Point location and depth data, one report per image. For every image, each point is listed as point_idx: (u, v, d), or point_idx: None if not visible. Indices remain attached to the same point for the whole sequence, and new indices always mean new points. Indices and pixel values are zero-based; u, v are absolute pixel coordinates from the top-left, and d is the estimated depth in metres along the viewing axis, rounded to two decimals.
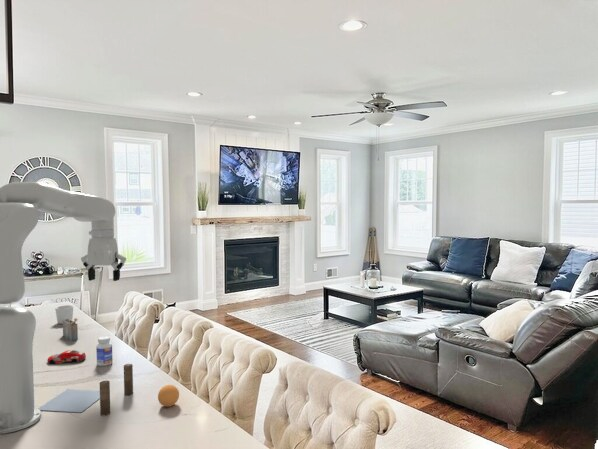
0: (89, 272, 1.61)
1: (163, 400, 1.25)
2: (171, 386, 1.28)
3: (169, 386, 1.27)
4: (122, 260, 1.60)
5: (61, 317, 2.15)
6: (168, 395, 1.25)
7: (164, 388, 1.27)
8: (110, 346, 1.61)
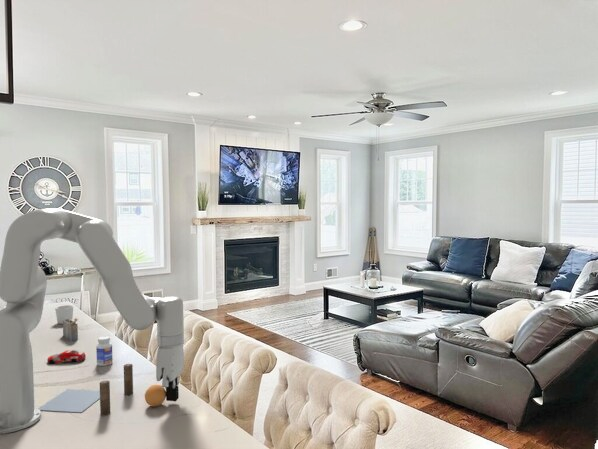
0: None
1: (151, 401, 1.25)
2: (148, 388, 1.28)
3: None
4: None
5: (61, 317, 2.15)
6: (149, 394, 1.25)
7: (145, 395, 1.27)
8: (110, 346, 1.61)
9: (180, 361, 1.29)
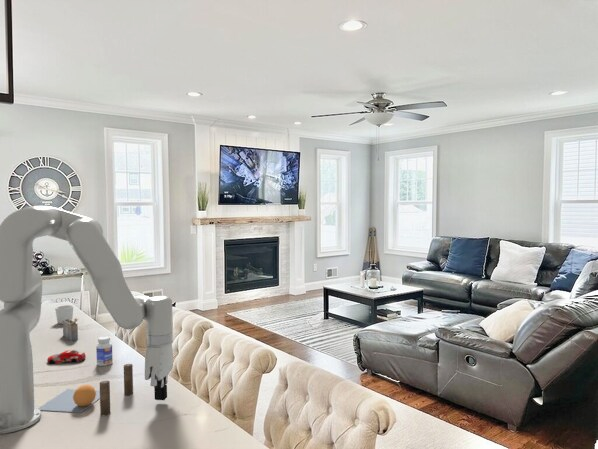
0: None
1: (80, 401, 1.25)
2: None
3: None
4: None
5: (61, 317, 2.15)
6: (75, 397, 1.26)
7: None
8: (110, 346, 1.61)
9: (169, 360, 1.30)
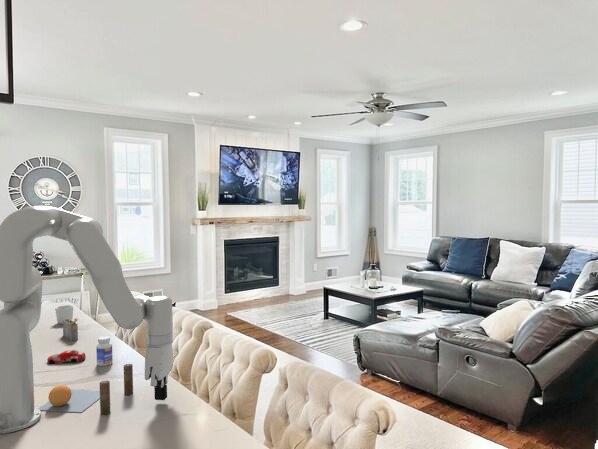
0: None
1: (55, 398, 1.25)
2: (67, 402, 1.28)
3: (67, 401, 1.28)
4: None
5: (61, 317, 2.15)
6: (57, 404, 1.26)
7: (67, 399, 1.27)
8: (110, 346, 1.61)
9: (169, 360, 1.30)
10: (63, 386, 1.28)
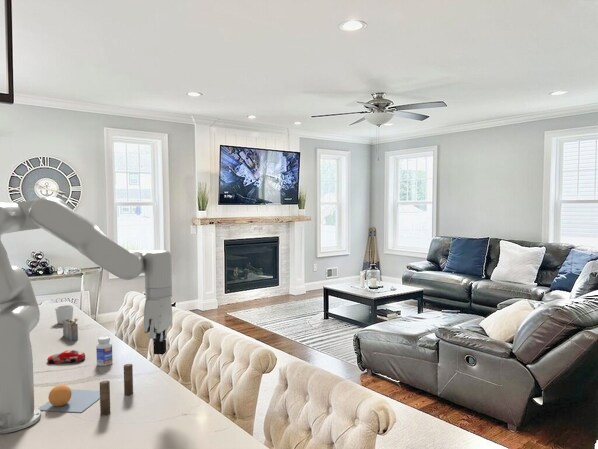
0: None
1: (55, 398, 1.25)
2: (67, 402, 1.28)
3: (67, 401, 1.28)
4: None
5: (61, 317, 2.15)
6: (57, 404, 1.26)
7: (67, 399, 1.27)
8: (110, 346, 1.61)
9: (168, 315, 1.29)
10: (63, 386, 1.28)
